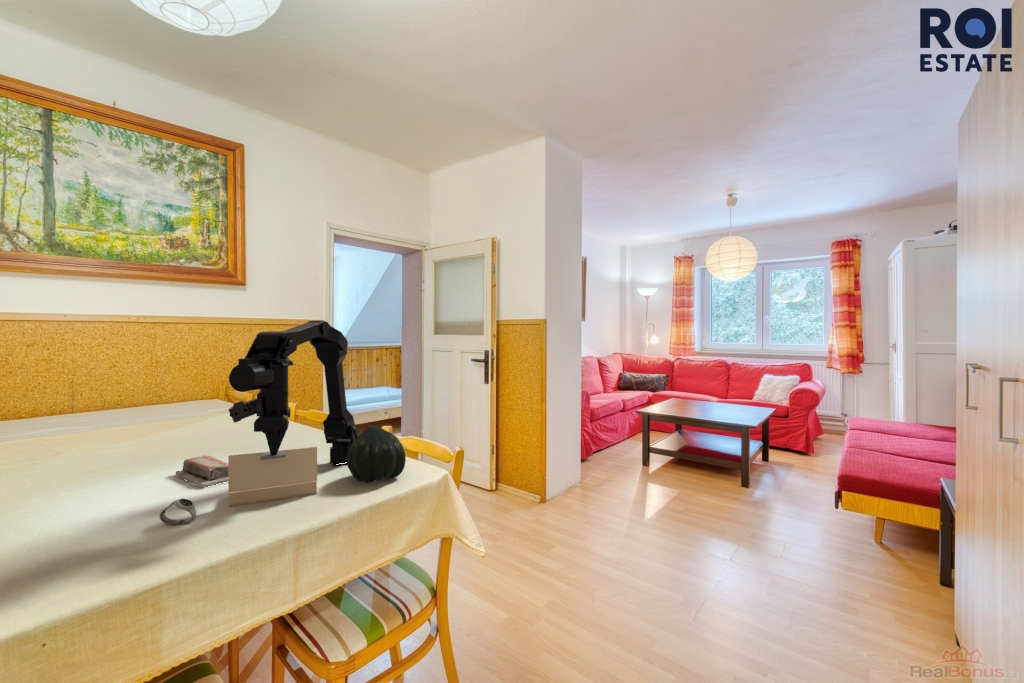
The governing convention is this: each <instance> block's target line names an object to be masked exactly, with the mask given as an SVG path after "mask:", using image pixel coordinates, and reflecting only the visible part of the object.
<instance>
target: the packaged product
mask: <svg viewBox="0 0 1024 683" xmlns="http://www.w3.org/2000/svg"><path fill="white" fill-rule="evenodd" d="M182 464H183V465H182V470H176V471H175V476H176V475H177V476H176V477H178V476H179V477H178V478H180V477H181V478H180V479H182V478H183V479H185V480H187V481H188V482H187V481H186V482H187V483H189V482H190V483H189V484H191V483H193V484H195V485H194V486H196V485H197V486H196V487H198V486H199V487H198V488H200V487H202V488H201V489H203V488H204V487H208V486H212V485H215V486H217V485H216V484H219V483H223V482H227V481H228V461H227V462H226V461H224V460H222V459H219V458H216V457H214V456H212V455H206V454H205V455H201V456H195V457H192V458H187V459H184V460H183V463H182ZM183 479H182V480H183ZM185 480H184V481H185ZM227 483H228V482H227ZM193 484H192V485H193ZM223 484H224V483H223ZM219 485H220V484H219ZM212 487H213V486H212ZM208 488H209V487H208ZM204 489H205V488H204Z"/></svg>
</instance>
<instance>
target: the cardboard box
mask: <svg viewBox="0 0 1024 683" xmlns="http://www.w3.org/2000/svg"><path fill="white" fill-rule="evenodd" d="M317 481H318V480H317ZM317 481H310V482H303V483H296V484H288V485H281V486H273V487H266V488H258V489H251V490H243V491H236V492H229V493H228V506H229V507H235V506H243V505H249V504H256V503H263V502H271V501H277V500H284V499H291V498H296V497H304V496H310V495H316V494H317V487H318V486H317V483H318V482H317Z"/></svg>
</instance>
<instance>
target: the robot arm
mask: <svg viewBox="0 0 1024 683" xmlns="http://www.w3.org/2000/svg"><path fill="white" fill-rule="evenodd" d="M307 342H309V344H310V345H311V346H312V347H313V348H314V350H315V354H316V358H317V359H318V360H319V361H320V362H321V364H322V366H323V368H324V378H325V385H326V386H325V387H326V395H327V402H328V403H327V404H328V414H327V415H326V418H325V419H324V420H323V422H322V426H323V434H324V439H325V441H326V442H325V443H326V444H331V446H330V447H329V463H331V466H332V465H336V464H339V463H345V462H347V457H348V452H349V450H350V447H351V446H352V444H353V443H354V442H355V440H356V439H357V438H358V437H359V436H360V434H361V432H360V430H359V429H358V427H357V426H356V423H355V418H354V416H353V414H352V413H351V412H350V411H349V409H348V407H347V397H346V388H345V379H344V378H345V377H344V369H343V363H344V360H345V358H346V356H347V355H348V347H349V346H348V345H349V343H348V339H347V337H345V335H344V334H343V333H342V331H341V330H338V329H336V328H335V327H333V326H331V324H329V322H328V321H325V320H309V321H307V322H305V323H302V324H300V325H296V326H294V327H293V326H292V327H291V328H288V329H285V330H273V331H272V330H270V331H260V332H259V333H257V334H256V336H255V338H254V339H253V341H252V344H251V346H249V349H248V351H247V352H246V355H245V357H244V358H238V364H237V365H235V366H233V368H232V370H231V371H230V374H229V375H228V381H229V385H230V386H231V388H232V389H233V390H235V391H236V392H239V393H240V392H241V393H243V392H250V391H256V390H259V391H258V393H257V394H256V398H252V399H250V400H249V399H248V400H246V401H243V400H240V401H237V402H234V403H232V404H233V405H232V406H230V407H229V408H228V412H229V417H230V418H231V419H232V422H233V423H237V422H241V421H242V420H244V419H247V418H249V417H252V416H254V415H256V417H257V418H256V419H255V420H254V422H253V432H254V433H255V432H256V433H260V432H261V433H262V434H264V435H265V438H266V441H267V446H268V448H269V449H268V450H269V451H270V454H271V455H277V452H278V451H279V450H280V447H281V445H282V443H283V439H284V438H285V435H286V433H287V430H288V429H289V425H290V420H289V418H291V407H290V406H289V392H290V391H289V367H291V366H294V362H293V361H292V360H291V359H289V357H290V356H291V355H292V354H294V353H295V352H296V351H297V349H298V346H300V345H302V344H305V343H307Z"/></svg>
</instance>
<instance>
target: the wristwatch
mask: <svg viewBox="0 0 1024 683" xmlns="http://www.w3.org/2000/svg"><path fill="white" fill-rule="evenodd" d="M173 505H174V506H175V507H177V508H178V509H180V510H182V511H186V512H188V513H189V515H190V520H189V519H188V520H184V519H180V520H179V519H171V518H169V517H167V516H166V511H167V510H168V509H169V508H170V507H172V506H173ZM196 517H197V509H196V506H195V503H193V502H192V501H191V499H187V498H179V499H175V500H174V501H173V502H171V503H169V505H168V506H166V507H165V508H163V509H162V510H161V511H160V513H159V519H160V521H161V522H162V523H163V524H164V525H166V526H171V527H175V526H185V525H188V524H190V523H191V522H193V521H194V520H195V518H196Z"/></svg>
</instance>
